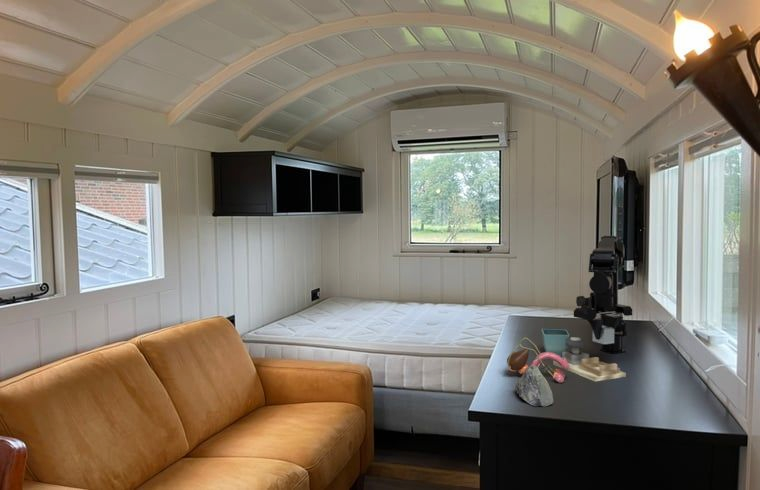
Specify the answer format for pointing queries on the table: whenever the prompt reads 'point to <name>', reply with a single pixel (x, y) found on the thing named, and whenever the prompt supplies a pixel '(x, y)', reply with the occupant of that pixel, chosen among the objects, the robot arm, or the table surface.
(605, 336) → the brushed metal cube
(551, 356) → the anatomy model
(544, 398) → the mineral rock
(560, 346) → the flower pot
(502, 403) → the table surface
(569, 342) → the grey rounded knob
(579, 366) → the chassis board
